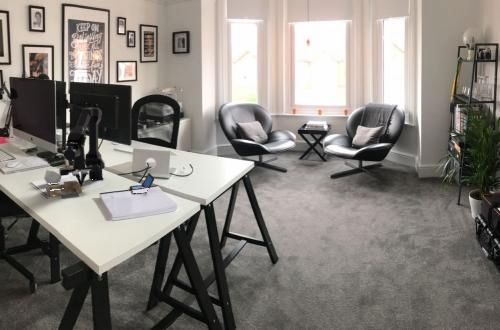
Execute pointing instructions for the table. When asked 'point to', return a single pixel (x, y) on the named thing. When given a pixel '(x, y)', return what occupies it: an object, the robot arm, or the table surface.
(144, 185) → the handheld game console
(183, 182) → the table surface
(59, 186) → the tunnel
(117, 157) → the table surface
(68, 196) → the pit mat
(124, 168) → the table surface
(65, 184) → the walnut block
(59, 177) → the die
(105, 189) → the table surface
